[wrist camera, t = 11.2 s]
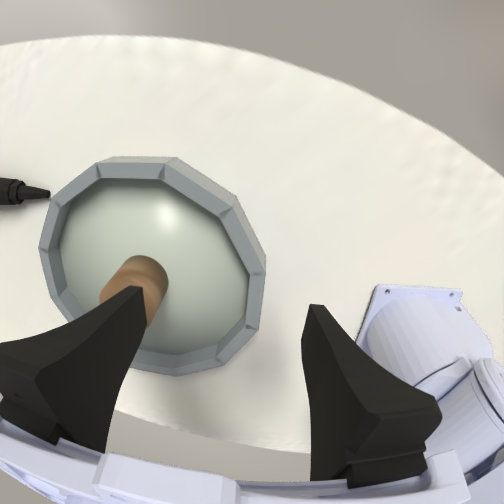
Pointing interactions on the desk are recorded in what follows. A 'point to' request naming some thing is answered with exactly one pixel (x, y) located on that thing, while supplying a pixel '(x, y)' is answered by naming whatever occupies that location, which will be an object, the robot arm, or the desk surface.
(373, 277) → the desk surface
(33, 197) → the microphone
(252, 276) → the round tray
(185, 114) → the desk surface
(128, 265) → the brown rounded piece
